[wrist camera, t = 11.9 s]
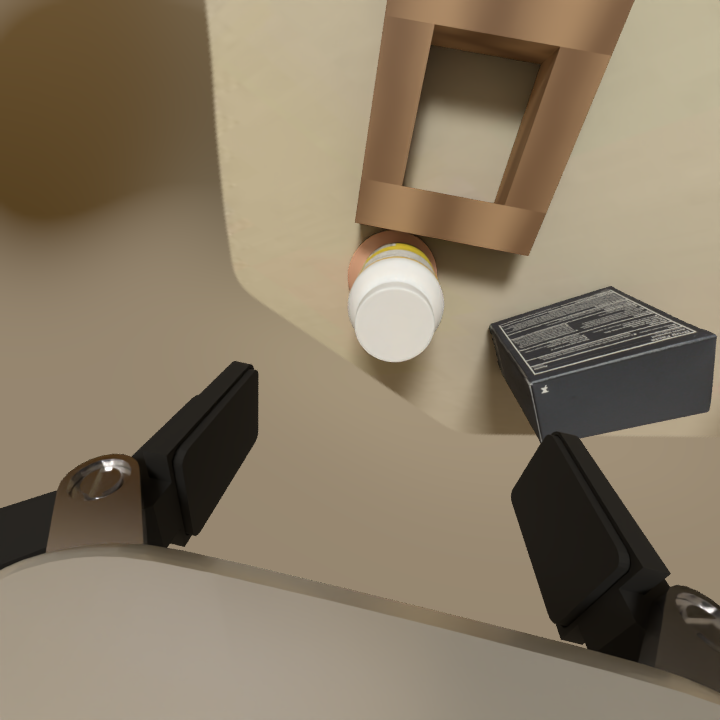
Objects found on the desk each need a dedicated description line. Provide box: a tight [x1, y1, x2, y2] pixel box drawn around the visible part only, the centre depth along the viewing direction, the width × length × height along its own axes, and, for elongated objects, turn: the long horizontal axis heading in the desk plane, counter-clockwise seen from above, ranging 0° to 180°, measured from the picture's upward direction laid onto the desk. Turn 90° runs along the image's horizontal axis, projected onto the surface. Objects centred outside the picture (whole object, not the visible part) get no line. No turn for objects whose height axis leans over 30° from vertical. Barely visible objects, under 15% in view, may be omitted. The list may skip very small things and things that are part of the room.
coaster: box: [348, 230, 437, 291], centre depth 29 cm, size 8×8×1 cm
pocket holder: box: [355, 0, 634, 256], centre depth 22 cm, size 14×14×3 cm
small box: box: [489, 286, 717, 443], centre depth 25 cm, size 11×6×10 cm, turn 113°
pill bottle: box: [348, 242, 444, 362], centre depth 23 cm, size 6×6×12 cm
